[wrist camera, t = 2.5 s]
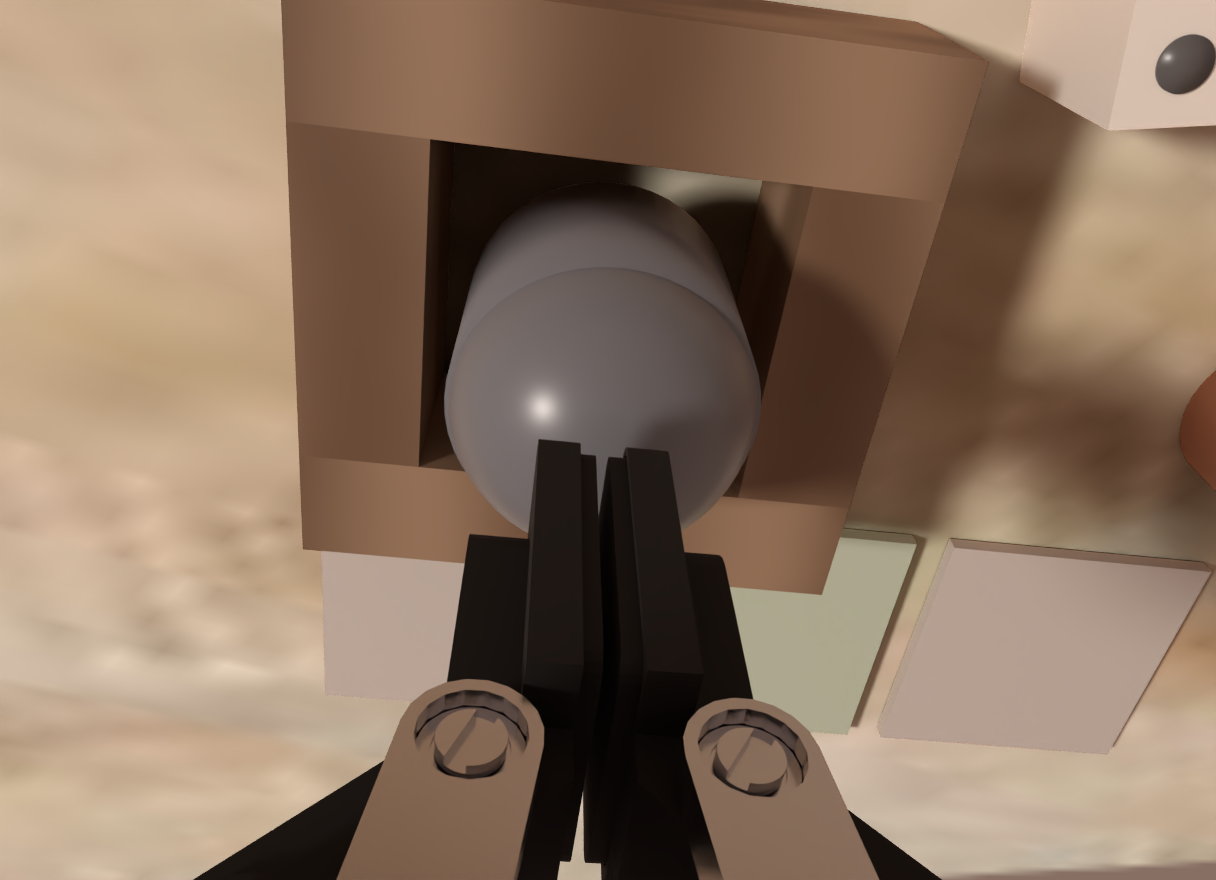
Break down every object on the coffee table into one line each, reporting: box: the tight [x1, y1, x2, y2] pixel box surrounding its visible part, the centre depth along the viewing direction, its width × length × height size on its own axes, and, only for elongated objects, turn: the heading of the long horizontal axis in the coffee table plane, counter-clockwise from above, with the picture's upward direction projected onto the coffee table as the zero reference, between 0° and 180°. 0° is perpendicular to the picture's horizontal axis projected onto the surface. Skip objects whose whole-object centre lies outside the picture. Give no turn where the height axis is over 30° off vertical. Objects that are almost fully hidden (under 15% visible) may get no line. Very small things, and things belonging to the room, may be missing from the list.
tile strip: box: [321, 528, 1211, 754], centre depth 27 cm, size 23×7×1 cm, turn 83°
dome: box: [444, 182, 761, 533], centre depth 16 cm, size 5×5×6 cm
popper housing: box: [281, 0, 989, 595], centre depth 20 cm, size 11×11×4 cm
